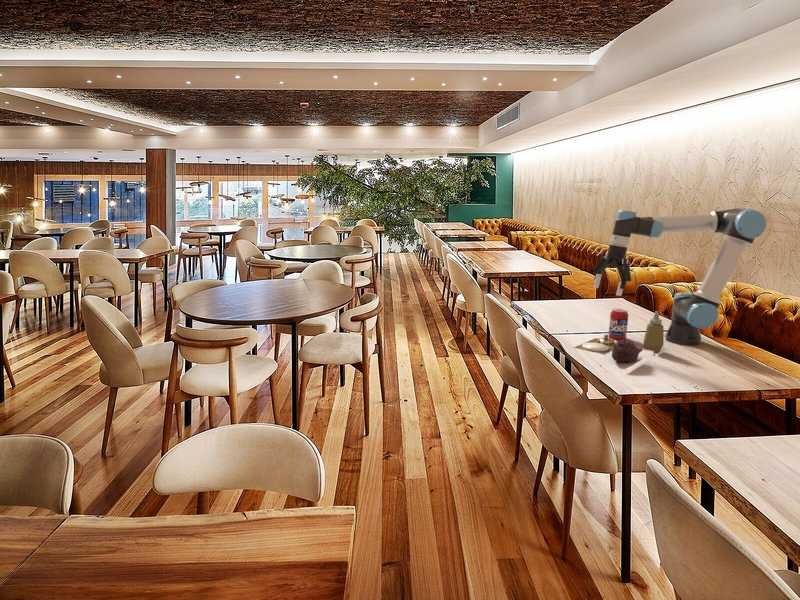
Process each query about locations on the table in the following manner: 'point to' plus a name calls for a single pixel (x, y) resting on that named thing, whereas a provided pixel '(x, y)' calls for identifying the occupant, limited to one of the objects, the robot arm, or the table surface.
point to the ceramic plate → (595, 347)
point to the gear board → (596, 351)
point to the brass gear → (605, 340)
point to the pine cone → (625, 351)
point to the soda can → (618, 324)
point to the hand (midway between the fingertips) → (606, 291)
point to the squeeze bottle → (654, 334)
